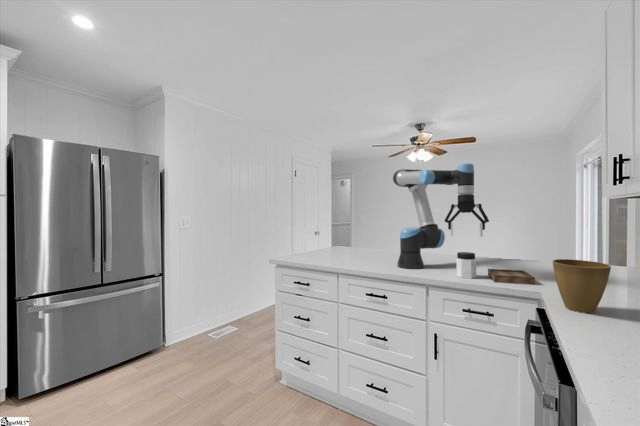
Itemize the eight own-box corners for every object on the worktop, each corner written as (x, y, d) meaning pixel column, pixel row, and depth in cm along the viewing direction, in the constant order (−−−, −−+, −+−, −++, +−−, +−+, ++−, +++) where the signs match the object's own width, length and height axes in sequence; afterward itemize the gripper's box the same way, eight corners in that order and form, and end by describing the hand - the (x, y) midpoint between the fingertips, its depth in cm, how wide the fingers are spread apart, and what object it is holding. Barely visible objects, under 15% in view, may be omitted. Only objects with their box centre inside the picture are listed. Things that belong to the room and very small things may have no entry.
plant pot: (549, 310, 101) (549, 263, 101) (556, 300, 112) (556, 257, 111) (610, 321, 91) (610, 268, 90) (611, 309, 101) (611, 262, 101)
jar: (469, 279, 146) (469, 254, 146) (453, 276, 153) (453, 253, 153) (479, 277, 151) (478, 253, 151) (463, 274, 158) (463, 251, 158)
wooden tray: (494, 282, 140) (494, 275, 140) (487, 275, 155) (487, 268, 155) (535, 284, 135) (535, 277, 135) (523, 277, 150) (523, 270, 150)
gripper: (439, 194, 152) (440, 236, 152) (495, 193, 144) (495, 237, 144) (439, 195, 159) (439, 235, 159) (492, 194, 151) (492, 235, 151)
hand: (466, 236), depth 152 cm, fingers open, 13 cm apart
